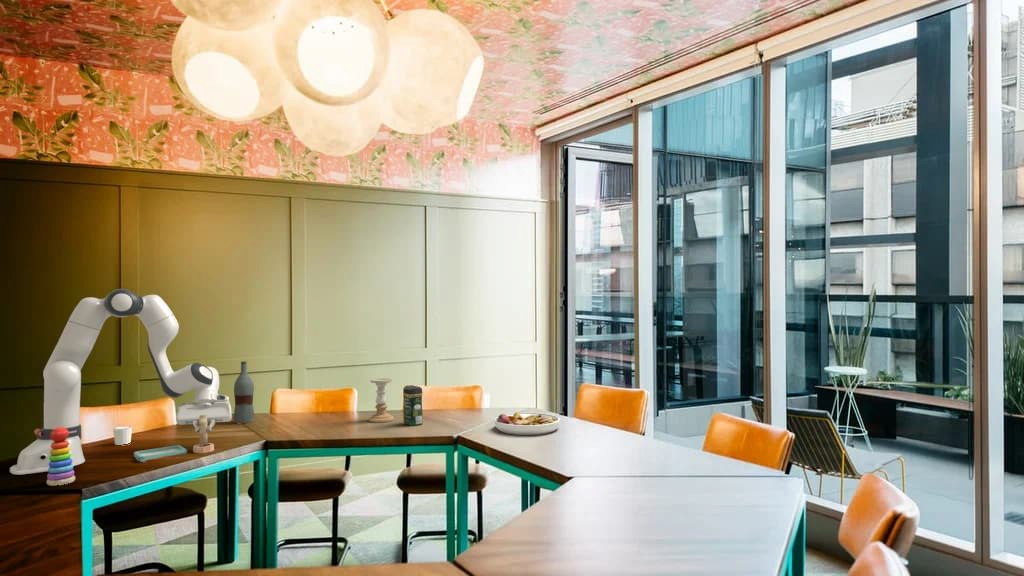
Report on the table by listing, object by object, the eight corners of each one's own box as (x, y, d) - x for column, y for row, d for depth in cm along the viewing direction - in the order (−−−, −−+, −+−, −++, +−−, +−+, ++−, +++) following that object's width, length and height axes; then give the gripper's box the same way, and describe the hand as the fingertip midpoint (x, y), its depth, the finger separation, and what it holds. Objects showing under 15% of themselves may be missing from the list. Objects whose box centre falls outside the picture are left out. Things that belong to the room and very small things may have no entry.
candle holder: (363, 422, 313) (363, 380, 313) (376, 417, 325) (376, 377, 325) (386, 423, 309) (385, 381, 309) (398, 418, 321) (398, 378, 321)
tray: (140, 462, 240) (140, 456, 240) (133, 457, 248) (133, 451, 248) (186, 455, 251) (186, 449, 251) (178, 450, 259) (178, 444, 259)
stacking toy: (76, 478, 220) (76, 423, 220) (73, 484, 213) (73, 428, 213) (48, 481, 216) (48, 426, 216) (44, 488, 209) (44, 430, 209)
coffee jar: (400, 423, 308) (400, 385, 309) (415, 421, 313) (415, 383, 313) (410, 426, 301) (410, 387, 301) (425, 424, 306) (425, 385, 306)
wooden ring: (196, 455, 249) (196, 448, 250) (191, 452, 255) (191, 445, 255) (215, 452, 254) (215, 445, 254) (210, 449, 259) (210, 442, 259)
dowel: (200, 452, 252) (200, 416, 253) (198, 450, 255) (198, 415, 255) (208, 450, 254) (208, 415, 254) (206, 449, 256) (206, 414, 257)
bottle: (246, 424, 310) (246, 362, 310) (229, 424, 311) (229, 362, 312) (257, 420, 319) (257, 360, 319) (241, 420, 320) (240, 360, 321)
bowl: (542, 421, 313) (542, 405, 313) (571, 433, 285) (571, 415, 285) (485, 426, 301) (485, 409, 301) (509, 439, 274) (509, 421, 274)
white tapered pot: (123, 446, 267) (123, 429, 267) (109, 445, 269) (109, 429, 269) (136, 442, 274) (135, 426, 274) (122, 441, 275) (122, 425, 275)
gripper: (177, 399, 258) (173, 428, 248) (232, 396, 265) (230, 424, 255) (178, 408, 262) (174, 437, 253) (233, 405, 269) (231, 433, 259)
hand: (203, 430), depth 254 cm, fingers closed on dowel, 3 cm apart
